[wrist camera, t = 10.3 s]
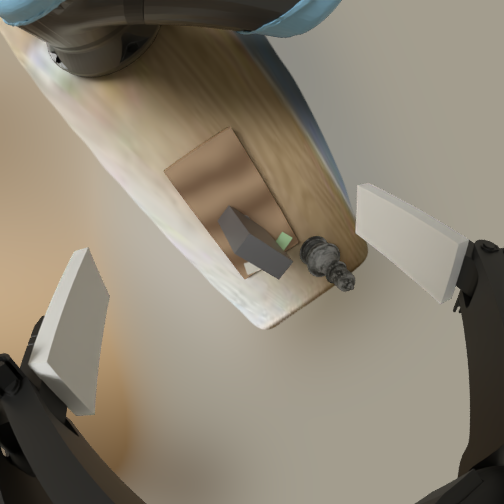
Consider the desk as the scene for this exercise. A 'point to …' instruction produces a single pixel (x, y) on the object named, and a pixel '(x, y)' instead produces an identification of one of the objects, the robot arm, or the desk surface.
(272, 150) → the desk surface
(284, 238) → the dial marks
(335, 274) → the dark grey chess piece
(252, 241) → the grey block
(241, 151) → the board
